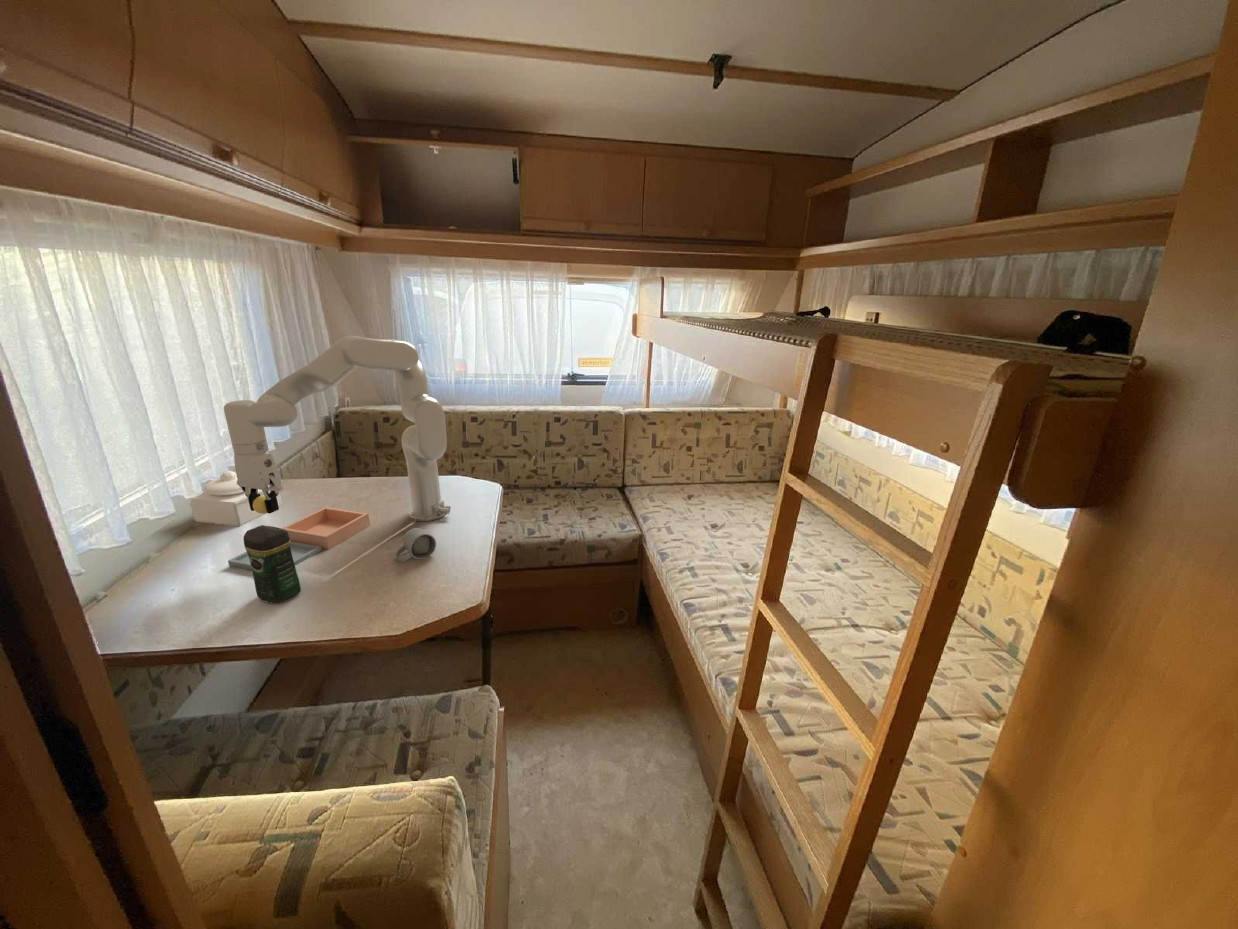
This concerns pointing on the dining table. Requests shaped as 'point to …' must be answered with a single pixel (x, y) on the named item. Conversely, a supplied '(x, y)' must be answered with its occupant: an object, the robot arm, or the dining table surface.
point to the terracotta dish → (327, 527)
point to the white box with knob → (225, 502)
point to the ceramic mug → (416, 545)
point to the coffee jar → (272, 563)
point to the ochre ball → (260, 505)
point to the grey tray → (297, 550)
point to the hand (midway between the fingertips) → (264, 509)
